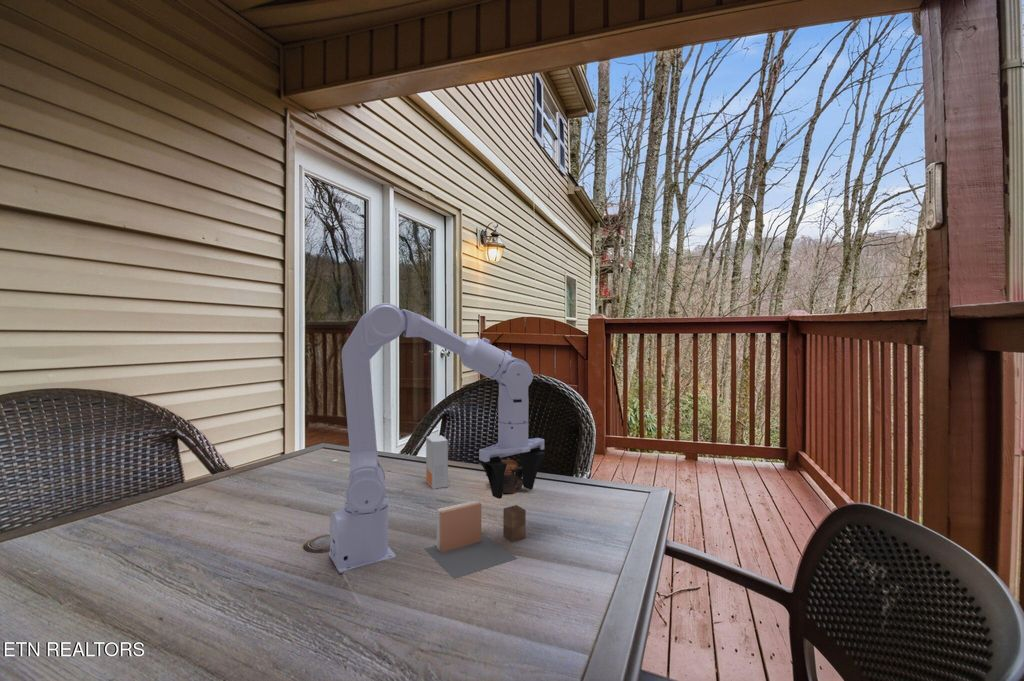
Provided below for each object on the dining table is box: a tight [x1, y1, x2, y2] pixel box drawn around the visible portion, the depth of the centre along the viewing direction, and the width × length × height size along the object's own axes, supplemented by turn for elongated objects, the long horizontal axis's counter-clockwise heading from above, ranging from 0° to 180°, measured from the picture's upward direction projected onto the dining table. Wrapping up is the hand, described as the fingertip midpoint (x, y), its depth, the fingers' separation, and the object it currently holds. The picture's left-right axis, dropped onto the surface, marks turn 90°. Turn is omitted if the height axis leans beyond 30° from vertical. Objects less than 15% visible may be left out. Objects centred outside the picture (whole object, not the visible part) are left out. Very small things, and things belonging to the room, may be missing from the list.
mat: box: [424, 532, 518, 580], centre depth 82 cm, size 12×12×1 cm
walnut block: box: [502, 504, 527, 544], centre depth 88 cm, size 3×3×6 cm
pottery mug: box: [485, 459, 523, 494], centre depth 118 cm, size 12×10×8 cm
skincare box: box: [425, 434, 449, 490], centre depth 120 cm, size 6×4×12 cm
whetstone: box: [436, 499, 482, 552], centre depth 85 cm, size 8×2×7 cm, turn 123°
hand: (513, 492), depth 89 cm, fingers open, 7 cm apart
